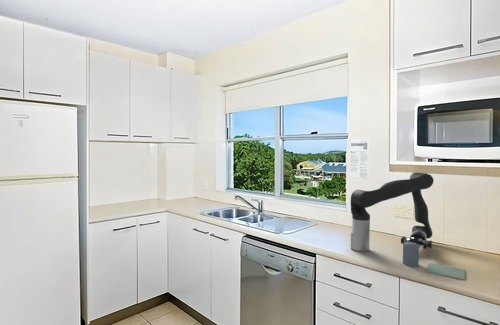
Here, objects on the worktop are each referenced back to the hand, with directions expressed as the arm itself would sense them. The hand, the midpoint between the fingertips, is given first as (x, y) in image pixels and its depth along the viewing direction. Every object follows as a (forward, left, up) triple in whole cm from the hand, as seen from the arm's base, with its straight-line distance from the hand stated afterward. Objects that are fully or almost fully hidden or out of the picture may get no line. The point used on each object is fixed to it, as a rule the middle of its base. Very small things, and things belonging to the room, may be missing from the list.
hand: (414, 245), depth 150 cm
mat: (+14, -11, -6) cm, 19 cm away
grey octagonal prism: (0, -11, -6) cm, 13 cm away
